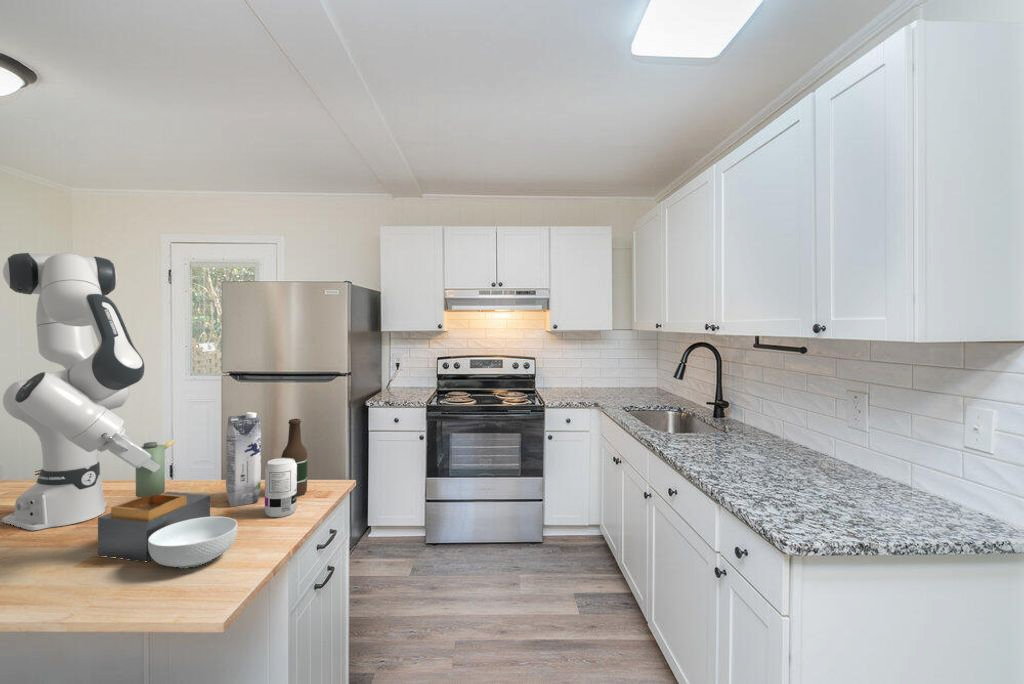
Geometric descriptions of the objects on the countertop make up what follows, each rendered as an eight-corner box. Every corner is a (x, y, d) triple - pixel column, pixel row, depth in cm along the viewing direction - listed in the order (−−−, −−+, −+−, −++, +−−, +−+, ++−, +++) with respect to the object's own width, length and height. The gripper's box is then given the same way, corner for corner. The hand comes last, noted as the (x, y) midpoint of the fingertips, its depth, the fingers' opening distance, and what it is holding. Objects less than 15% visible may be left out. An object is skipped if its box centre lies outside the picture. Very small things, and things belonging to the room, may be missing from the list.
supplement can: (258, 515, 134) (258, 462, 134) (282, 505, 142) (282, 456, 141) (279, 520, 131) (279, 466, 131) (302, 510, 139) (303, 459, 138)
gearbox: (86, 555, 109) (86, 507, 109) (157, 524, 127) (157, 482, 127) (146, 562, 107) (146, 512, 106) (210, 529, 124) (210, 487, 124)
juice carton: (227, 509, 138) (227, 417, 138) (225, 498, 147) (226, 411, 146) (261, 503, 143) (262, 414, 143) (257, 493, 152) (258, 409, 151)
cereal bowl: (243, 539, 119) (243, 511, 119) (229, 572, 103) (229, 539, 103) (162, 549, 113) (162, 519, 113) (134, 584, 97) (134, 550, 97)
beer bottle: (297, 499, 148) (297, 422, 147) (275, 496, 149) (275, 420, 149) (312, 490, 155) (313, 417, 155) (291, 488, 157) (292, 416, 156)
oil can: (138, 499, 109) (138, 446, 109) (133, 493, 113) (133, 442, 113) (177, 491, 115) (177, 441, 115) (171, 486, 118) (171, 437, 118)
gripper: (121, 426, 101) (176, 463, 108) (104, 414, 114) (154, 448, 122) (94, 451, 97) (152, 487, 105) (79, 435, 111) (132, 468, 118)
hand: (153, 466), depth 113 cm, fingers closed on oil can, 5 cm apart
